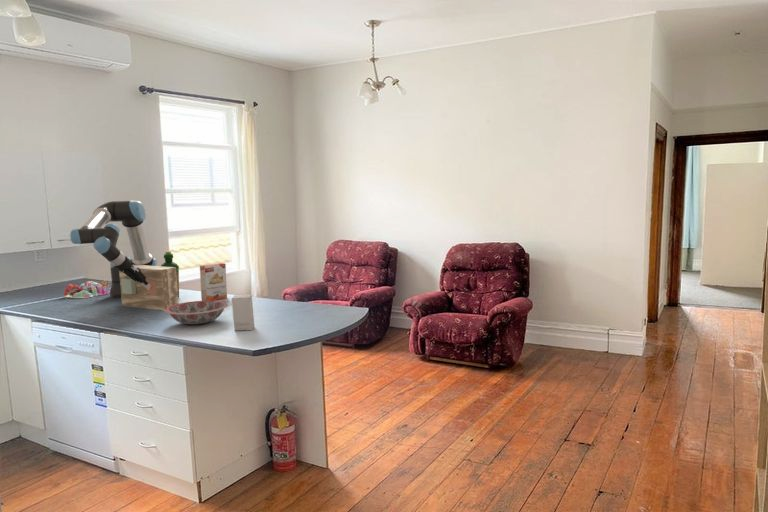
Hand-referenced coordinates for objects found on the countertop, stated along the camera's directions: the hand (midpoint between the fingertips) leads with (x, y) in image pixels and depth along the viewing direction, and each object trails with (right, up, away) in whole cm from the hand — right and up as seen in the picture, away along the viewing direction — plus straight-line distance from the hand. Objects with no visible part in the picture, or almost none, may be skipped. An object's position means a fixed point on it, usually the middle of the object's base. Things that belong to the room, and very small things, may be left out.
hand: (149, 287), depth 307 cm
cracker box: (+28, -9, +25) cm, 38 cm away
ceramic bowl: (+37, -16, -31) cm, 51 cm away
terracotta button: (+1, -4, +3) cm, 5 cm away
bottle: (0, -8, +32) cm, 33 cm away
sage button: (-14, -3, +8) cm, 17 cm away
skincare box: (+63, -17, -47) cm, 80 cm away
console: (-4, -11, +11) cm, 16 cm away
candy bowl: (-59, -8, +50) cm, 78 cm away
